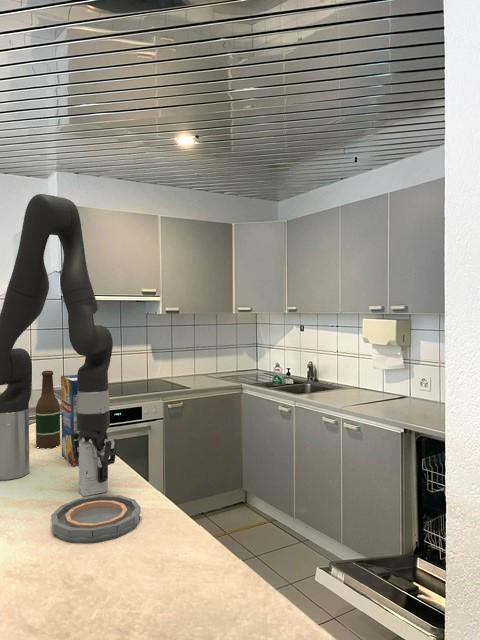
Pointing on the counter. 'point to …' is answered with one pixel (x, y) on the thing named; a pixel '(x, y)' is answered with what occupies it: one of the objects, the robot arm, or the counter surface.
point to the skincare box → (89, 471)
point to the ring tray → (95, 518)
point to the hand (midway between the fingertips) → (93, 478)
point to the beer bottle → (47, 415)
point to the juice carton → (69, 416)
